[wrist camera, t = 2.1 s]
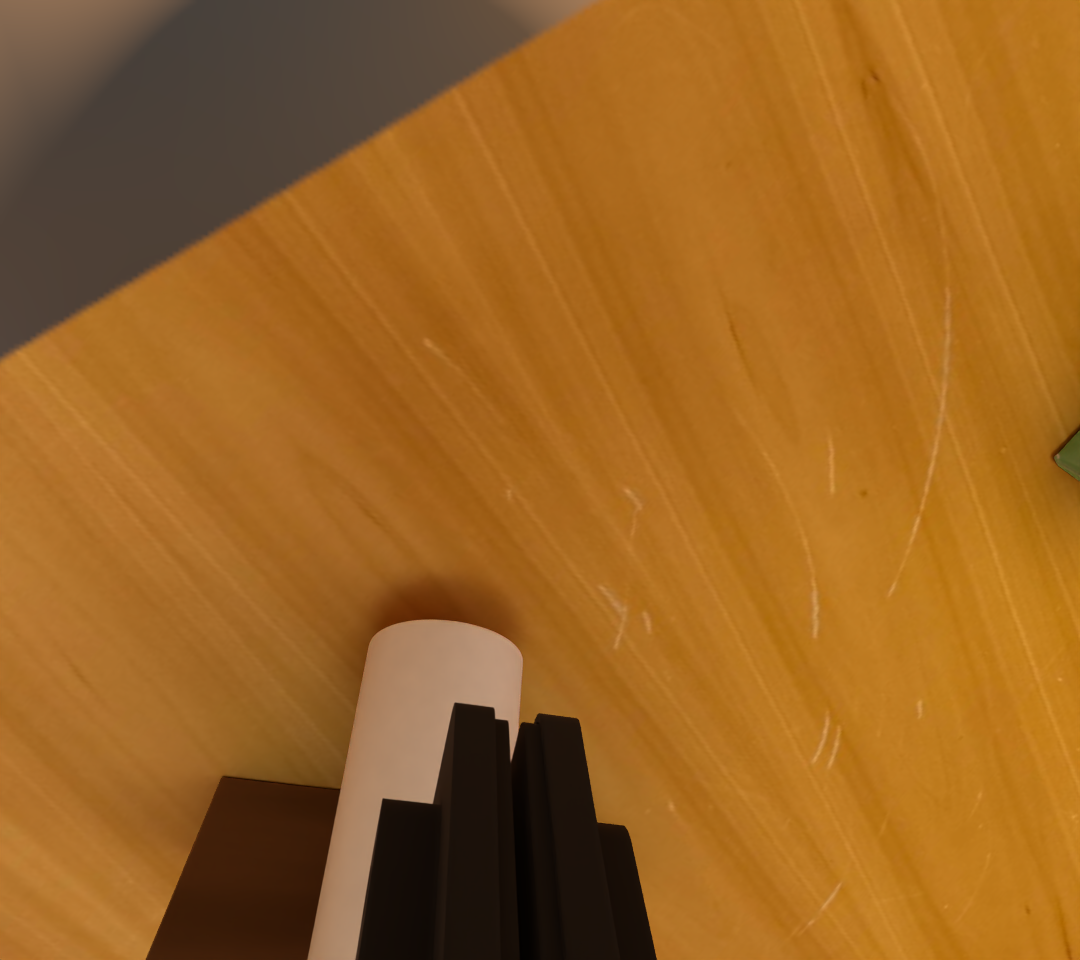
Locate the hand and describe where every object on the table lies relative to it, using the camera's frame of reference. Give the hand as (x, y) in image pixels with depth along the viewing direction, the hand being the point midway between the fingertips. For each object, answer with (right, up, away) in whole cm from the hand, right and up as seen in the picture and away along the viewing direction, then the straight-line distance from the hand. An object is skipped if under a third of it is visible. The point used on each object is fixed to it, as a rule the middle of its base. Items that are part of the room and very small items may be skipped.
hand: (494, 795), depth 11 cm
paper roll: (-3, -5, +12) cm, 14 cm away
